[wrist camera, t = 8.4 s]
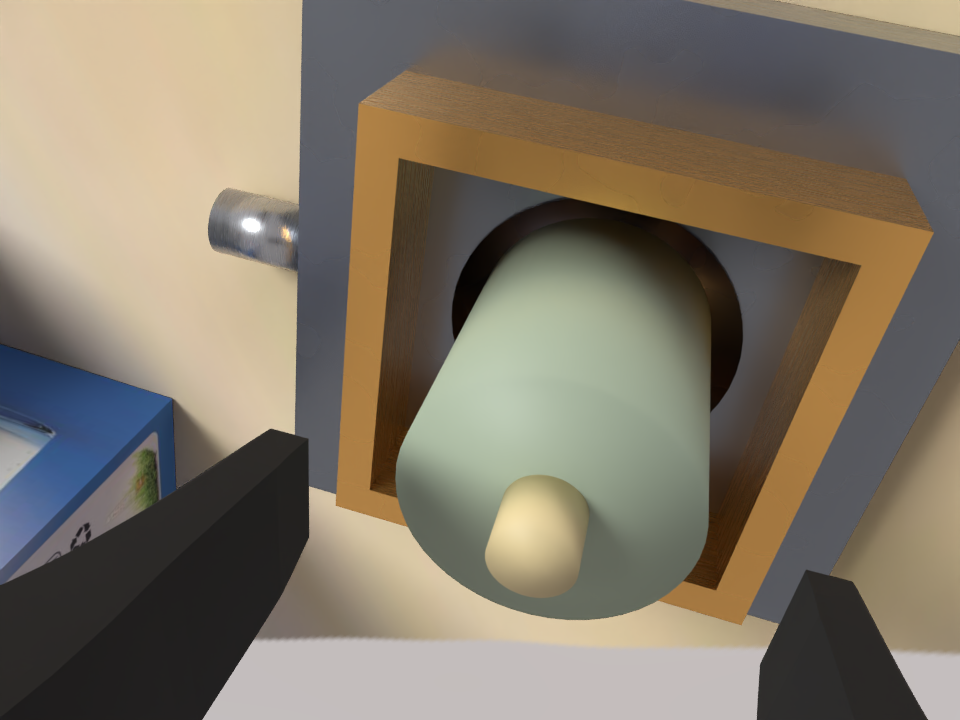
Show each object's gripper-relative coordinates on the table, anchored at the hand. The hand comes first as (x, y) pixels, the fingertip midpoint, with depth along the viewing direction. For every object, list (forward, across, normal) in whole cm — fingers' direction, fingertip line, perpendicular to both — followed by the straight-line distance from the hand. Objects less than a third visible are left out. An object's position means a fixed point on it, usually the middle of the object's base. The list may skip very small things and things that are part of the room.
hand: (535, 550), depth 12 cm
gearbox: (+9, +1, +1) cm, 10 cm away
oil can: (+7, 0, 0) cm, 7 cm away
